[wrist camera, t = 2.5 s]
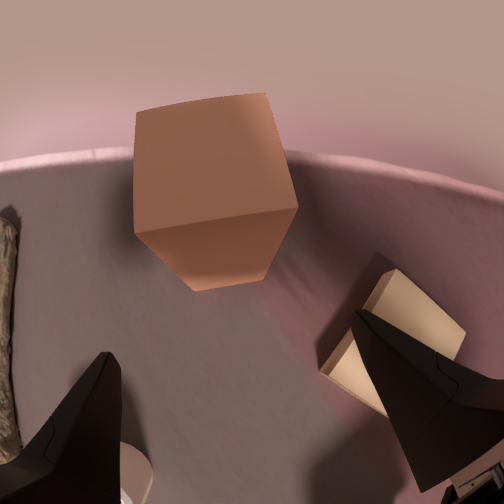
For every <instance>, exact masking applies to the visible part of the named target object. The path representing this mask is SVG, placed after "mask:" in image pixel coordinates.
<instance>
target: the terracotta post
mask: <svg viewBox="0 0 504 504" xmlns="http://www.w3.org/2000/svg"><path fill="white" fill-rule="evenodd" d="M298 208H299V206H298V202H297V198H296V195H295V191H294V187H293V183H292V180H291V176H290V172H289V169H288V165H287V162H286V158H285V154H284V151H283V148H282V145H281V141H280V137H279V134H278V131H277V127H276V124H275V121H274V117H273V114H272V111H271V108H270V105H269V102H268V98H267V95H266V93H257V94H245V95H234V96H226V97H217V98H209V99H203V100H196V101H190V102H184V103H179V104H173V105H168V106H163V107H158V108H153V109H149V110H144V111H140V112H137V114H136V126H135V143H134V170H133V213H134V234H135V235H136V236H137V237H138V238H139V239H140V240H141V241H142V242H143V243H144V244H145V245H146V246H147V247H148V248H149V249H150V250H151V251H152V252H153V253H154V254H156V255H157V256H158V257H159V258H160V259H161V260H162V261H163V262H164V263H165V264H166V265H167V266H168V267H169V268H170V269H171V270H172V271H173V272H174V273H175V274H176V275H178V276H179V277H180V278H181V279H182V280H183V281H184V282H185V283H186V284H187V285H188V286H189V287H190V288H192V289H193V290H194V291H199V290H206V289H212V288H218V287H225V286H231V285H237V284H243V283H249V282H255V281H261V280H263V279H264V277H265V275H266V273H267V271H268V269H269V267H270V265H271V263H272V261H273V259H274V257H275V255H276V253H277V251H278V249H279V247H280V245H281V243H282V241H283V239H284V237H285V235H286V233H287V231H288V229H289V227H290V224H291V222H292V220H293V218H294V216H295V214H296V212H297V210H298Z"/></svg>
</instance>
